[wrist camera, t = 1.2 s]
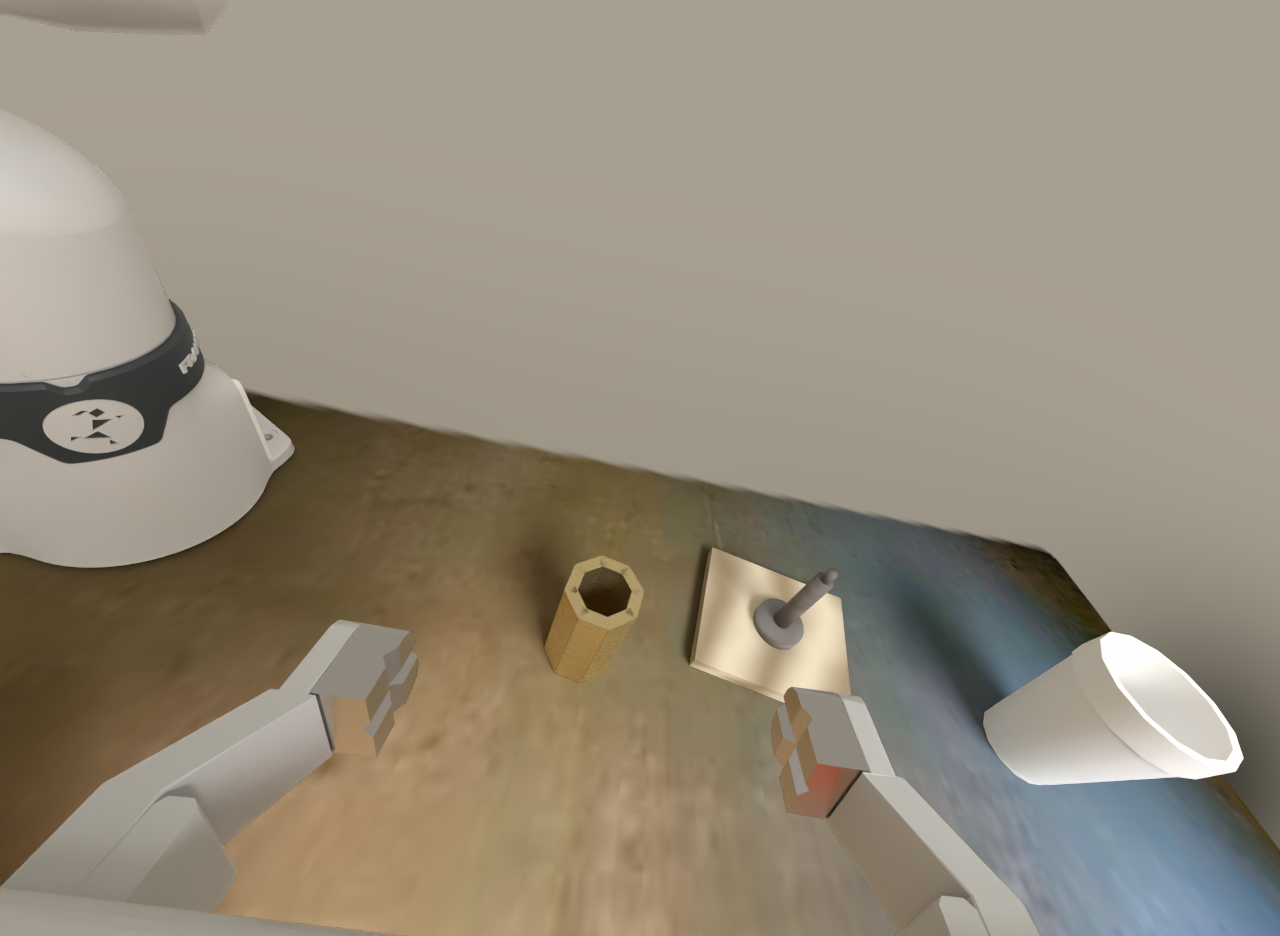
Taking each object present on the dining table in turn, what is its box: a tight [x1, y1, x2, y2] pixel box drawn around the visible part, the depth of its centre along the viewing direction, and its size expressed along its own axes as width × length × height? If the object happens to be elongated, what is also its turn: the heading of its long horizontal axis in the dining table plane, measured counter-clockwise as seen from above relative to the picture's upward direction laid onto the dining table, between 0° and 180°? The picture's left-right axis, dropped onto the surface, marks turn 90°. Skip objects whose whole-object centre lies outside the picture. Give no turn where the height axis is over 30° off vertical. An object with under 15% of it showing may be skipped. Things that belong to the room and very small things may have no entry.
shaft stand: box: [689, 547, 851, 703], centre depth 39 cm, size 14×12×10 cm
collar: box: [544, 556, 644, 683], centre depth 33 cm, size 5×5×9 cm
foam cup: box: [983, 632, 1243, 785], centre depth 38 cm, size 10×9×13 cm
